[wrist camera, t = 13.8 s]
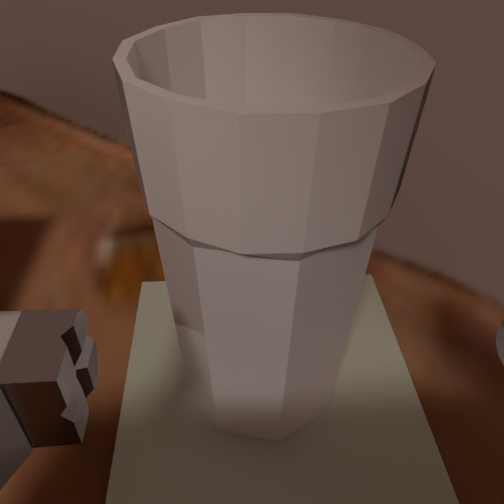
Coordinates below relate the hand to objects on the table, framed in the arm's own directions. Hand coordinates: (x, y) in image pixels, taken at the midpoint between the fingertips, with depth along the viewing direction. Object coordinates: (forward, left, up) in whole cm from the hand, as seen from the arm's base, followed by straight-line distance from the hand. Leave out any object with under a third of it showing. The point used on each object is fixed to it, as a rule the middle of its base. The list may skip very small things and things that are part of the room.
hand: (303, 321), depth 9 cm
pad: (0, +4, -8) cm, 9 cm away
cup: (0, +4, -7) cm, 9 cm away
